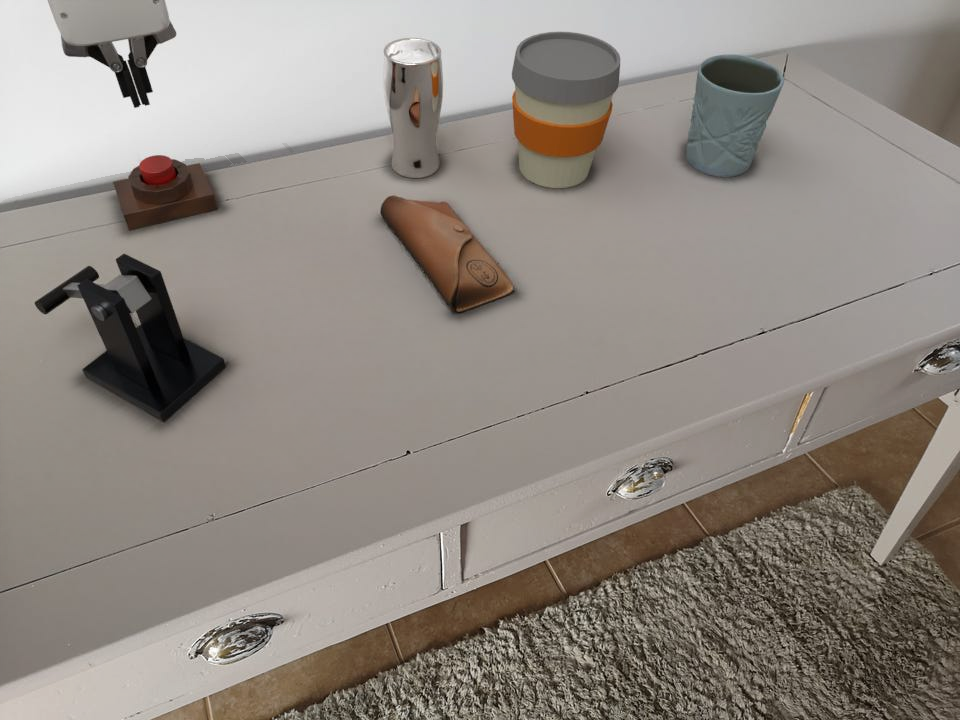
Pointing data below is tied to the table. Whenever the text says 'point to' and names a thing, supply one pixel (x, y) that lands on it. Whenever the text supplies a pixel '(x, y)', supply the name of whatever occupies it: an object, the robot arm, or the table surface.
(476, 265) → the sunglasses case
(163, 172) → the button
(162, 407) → the bracket
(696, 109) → the embossed green cup
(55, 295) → the lever
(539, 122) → the reusable coffee cup
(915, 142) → the table surface
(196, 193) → the control block
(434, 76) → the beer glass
